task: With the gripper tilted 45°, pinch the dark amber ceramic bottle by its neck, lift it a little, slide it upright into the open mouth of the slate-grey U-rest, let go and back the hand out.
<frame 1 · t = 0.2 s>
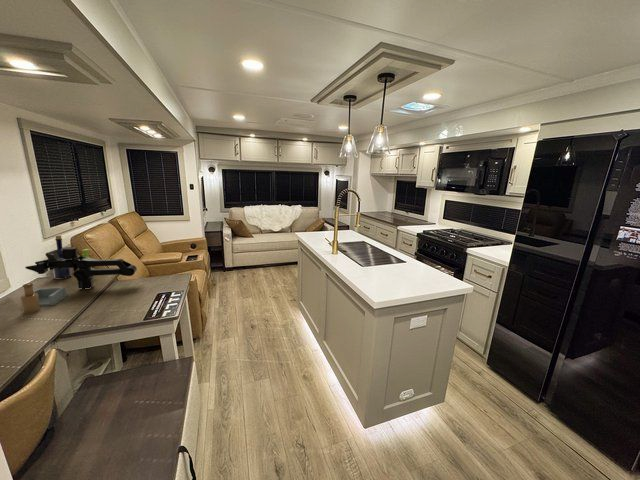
hand: (30, 265, 155), 17 cm above the table, tool horizontal, fingers open, 9 cm apart
u rest: (45, 301, 147), on the table
amber bottle: (31, 311, 137), on the table
bottle: (63, 277, 182), on the table
soap dispenser: (88, 276, 187), on the table
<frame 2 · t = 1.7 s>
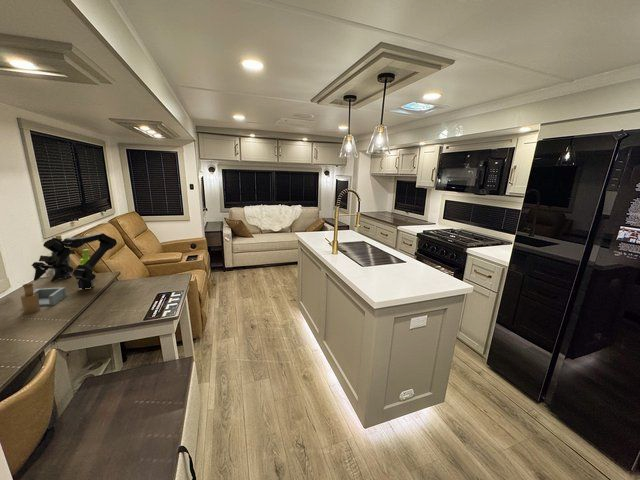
hand: (43, 281, 142), 14 cm above the table, tool tilted 45°, fingers open, 9 cm apart
nothing on the table moved.
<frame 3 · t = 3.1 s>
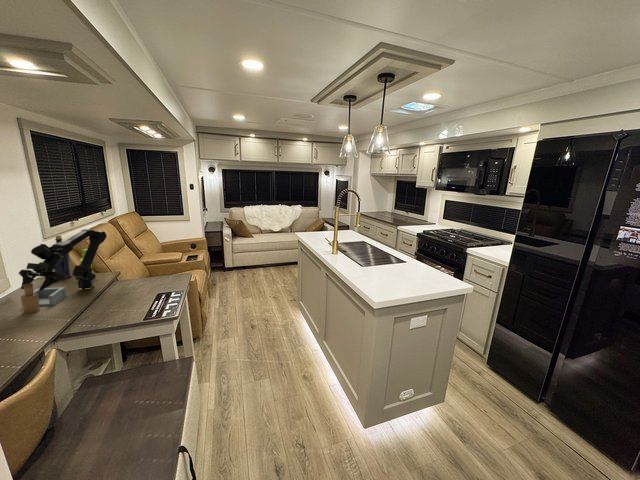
hand: (31, 289, 136), 12 cm above the table, tool tilted 45°, fingers open, 9 cm apart
nothing on the table moved.
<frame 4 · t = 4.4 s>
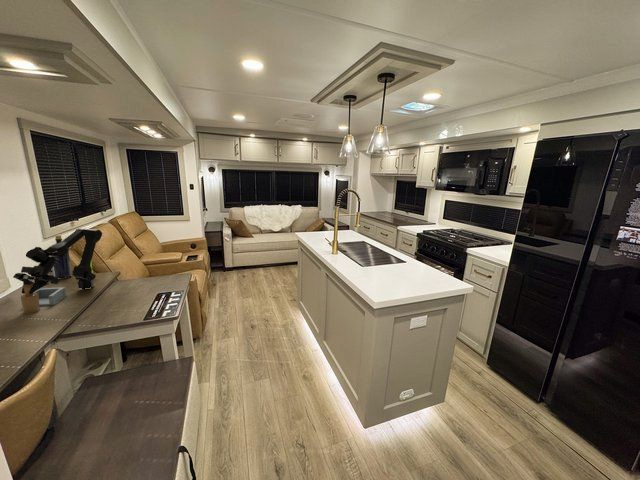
hand: (26, 293, 133), 11 cm above the table, tool tilted 45°, fingers closed on amber bottle, 3 cm apart
amber bottle: (31, 311, 137), on the table, touching gripper
everything else where it was.
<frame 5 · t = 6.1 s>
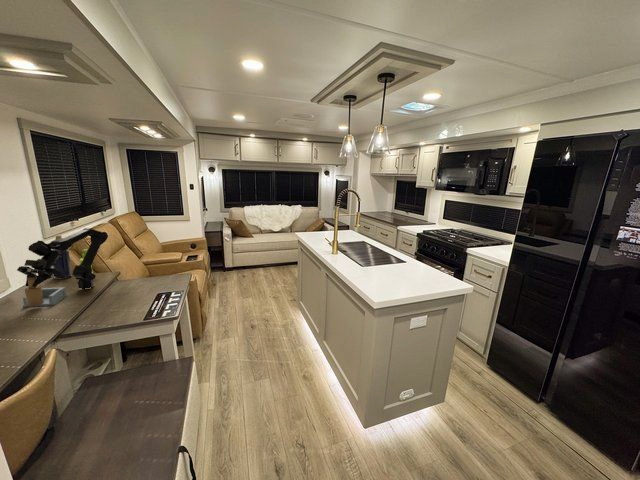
hand: (29, 286, 136), 13 cm above the table, tool tilted 45°, fingers closed on amber bottle, 3 cm apart
amber bottle: (35, 303, 139), point 3 cm above the table, touching gripper
everything else where it was.
when the fingers open (12 cm above the table, at t = 8.1 s): amber bottle stays where it is, resting on u rest.
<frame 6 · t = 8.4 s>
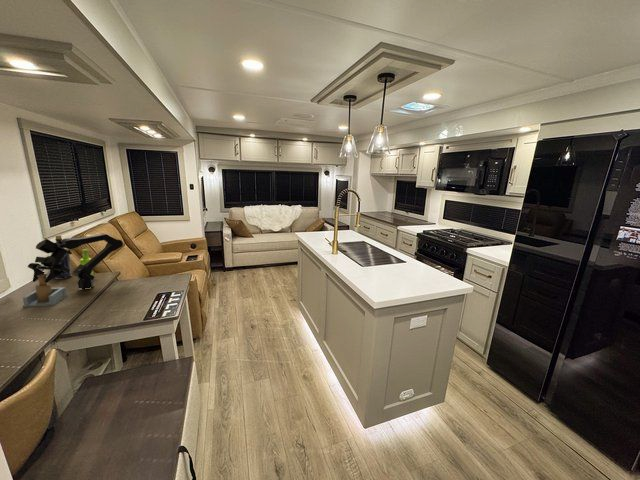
hand: (39, 281, 143), 13 cm above the table, tool tilted 45°, fingers open, 6 cm apart
amber bottle: (45, 300, 147), point 1 cm above the table, touching u rest
everything else where it was.
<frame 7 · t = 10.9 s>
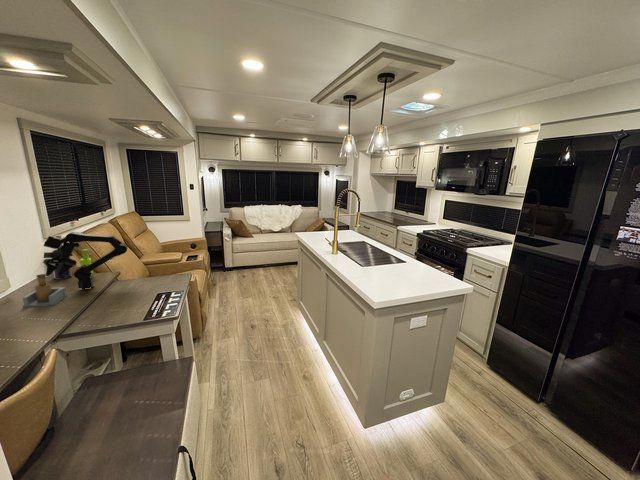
hand: (52, 275, 151), 13 cm above the table, tool tilted 40°, fingers open, 9 cm apart
nothing on the table moved.
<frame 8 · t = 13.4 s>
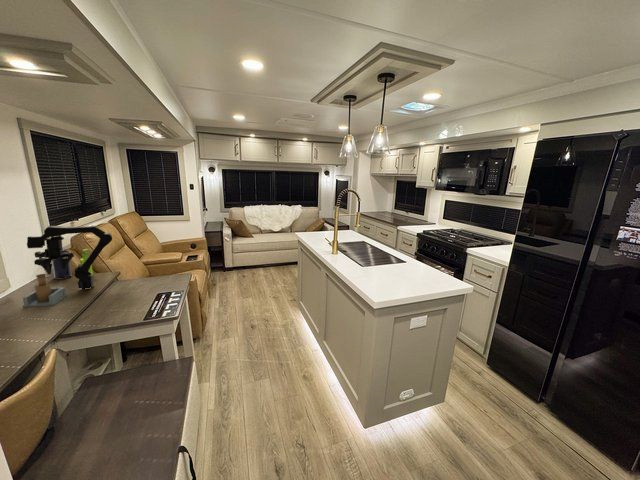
hand: (56, 271, 158), 13 cm above the table, tool pointing down, fingers open, 9 cm apart
nothing on the table moved.
at the end: amber bottle 0.1 cm off-centre on the u rest, point 1.1 cm above the u rest's base; amber bottle tilted 2°; the gripper is holding nothing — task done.
